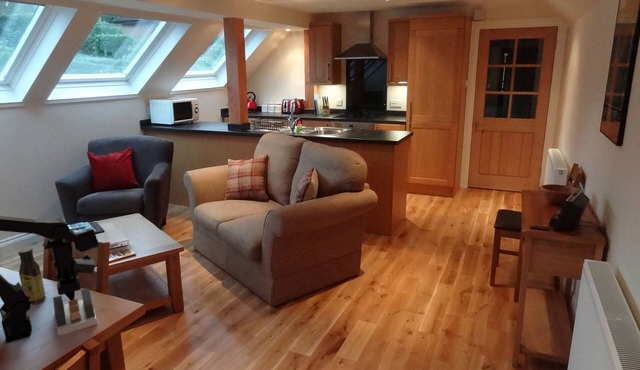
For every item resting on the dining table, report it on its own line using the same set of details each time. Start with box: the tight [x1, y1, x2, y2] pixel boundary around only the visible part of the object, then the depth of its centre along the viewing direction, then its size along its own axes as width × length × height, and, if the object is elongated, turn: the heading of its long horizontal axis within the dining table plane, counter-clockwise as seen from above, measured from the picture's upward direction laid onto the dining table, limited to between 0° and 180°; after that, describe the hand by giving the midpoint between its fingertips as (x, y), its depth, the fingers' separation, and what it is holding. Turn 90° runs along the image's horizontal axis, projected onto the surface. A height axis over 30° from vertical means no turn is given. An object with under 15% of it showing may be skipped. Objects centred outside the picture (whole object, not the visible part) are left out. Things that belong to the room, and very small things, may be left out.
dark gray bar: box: [80, 287, 96, 319], centre depth 148 cm, size 2×12×4 cm, turn 32°
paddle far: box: [67, 297, 79, 307], centre depth 150 cm, size 3×1×2 cm, turn 122°
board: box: [56, 299, 98, 336], centre depth 147 cm, size 15×11×2 cm
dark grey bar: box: [52, 295, 66, 328], centre depth 144 cm, size 2×12×4 cm, turn 32°
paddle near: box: [70, 311, 81, 320], centre depth 143 cm, size 3×1×2 cm, turn 122°
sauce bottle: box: [18, 246, 46, 305], centre depth 155 cm, size 7×6×20 cm
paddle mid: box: [69, 305, 79, 313], centre depth 146 cm, size 3×1×2 cm, turn 122°
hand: (72, 299), depth 147 cm, fingers closed
